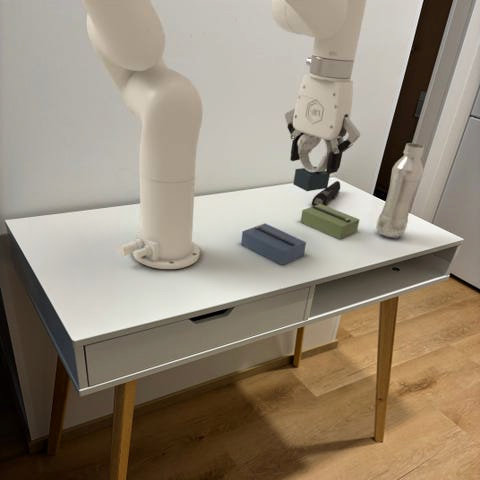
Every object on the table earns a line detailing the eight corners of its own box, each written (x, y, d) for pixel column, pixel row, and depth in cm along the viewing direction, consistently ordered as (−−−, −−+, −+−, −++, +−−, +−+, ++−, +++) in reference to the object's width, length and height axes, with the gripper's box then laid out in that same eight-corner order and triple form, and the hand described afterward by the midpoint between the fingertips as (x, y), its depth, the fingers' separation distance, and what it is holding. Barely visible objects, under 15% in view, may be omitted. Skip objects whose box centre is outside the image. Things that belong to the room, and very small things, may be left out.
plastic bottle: (368, 230, 112) (392, 141, 101) (390, 227, 115) (415, 140, 104) (387, 242, 108) (414, 150, 96) (409, 239, 111) (438, 149, 99)
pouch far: (339, 239, 107) (343, 224, 105) (300, 222, 113) (302, 207, 110) (356, 231, 111) (360, 216, 109) (317, 215, 117) (320, 201, 115)
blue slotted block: (282, 265, 94) (284, 248, 92) (240, 244, 100) (242, 228, 98) (303, 255, 98) (307, 239, 96) (263, 236, 104) (265, 220, 102)
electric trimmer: (342, 193, 132) (345, 182, 131) (323, 209, 120) (326, 197, 119) (329, 190, 134) (332, 178, 132) (309, 205, 122) (312, 193, 120)
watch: (307, 178, 104) (316, 124, 97) (333, 191, 98) (344, 134, 92) (286, 181, 101) (295, 125, 95) (312, 194, 96) (323, 136, 89)
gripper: (280, 61, 90) (268, 157, 99) (361, 79, 81) (339, 182, 90) (305, 60, 94) (291, 151, 104) (383, 77, 85) (360, 175, 95)
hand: (313, 165), depth 97 cm, fingers closed on watch, 8 cm apart
